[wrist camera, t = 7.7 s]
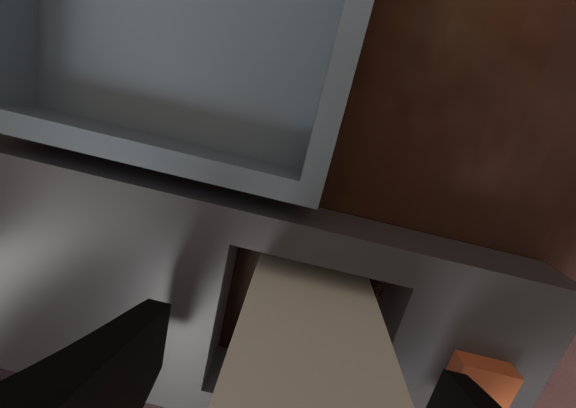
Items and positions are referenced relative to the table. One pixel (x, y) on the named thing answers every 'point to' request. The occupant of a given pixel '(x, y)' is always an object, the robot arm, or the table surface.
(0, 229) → the power strip
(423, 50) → the table surface
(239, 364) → the plug
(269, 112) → the tray
